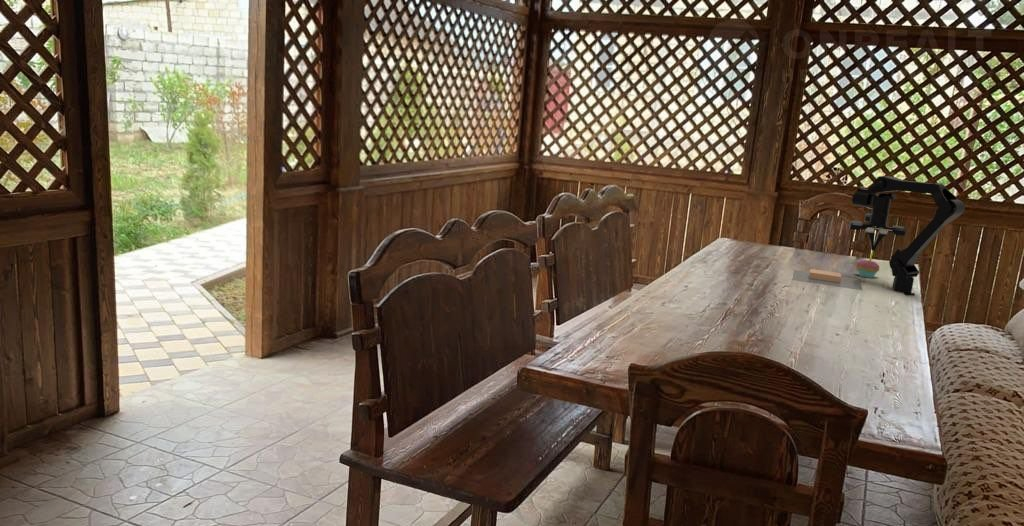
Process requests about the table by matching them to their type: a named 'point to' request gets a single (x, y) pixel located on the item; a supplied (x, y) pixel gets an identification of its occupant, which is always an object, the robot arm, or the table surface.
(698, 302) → the table surface
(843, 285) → the board
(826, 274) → the tile
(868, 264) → the cupcake
